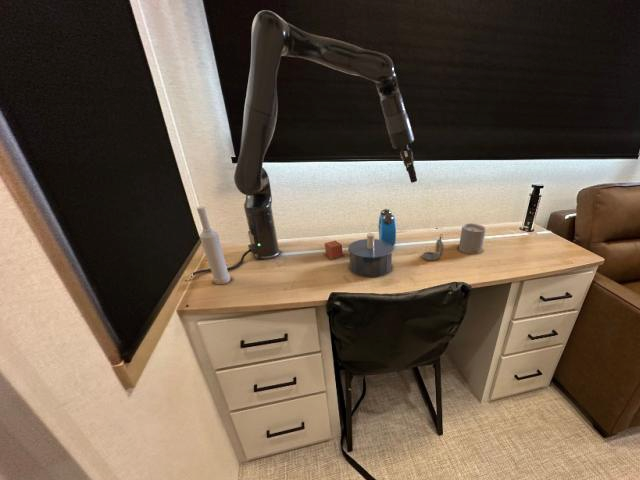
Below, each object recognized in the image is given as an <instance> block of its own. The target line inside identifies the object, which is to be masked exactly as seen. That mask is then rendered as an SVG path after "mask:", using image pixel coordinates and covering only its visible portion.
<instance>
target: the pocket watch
mask: <svg viewBox="0 0 640 480" xmlns="http://www.w3.org/2000/svg"><path fill="white" fill-rule="evenodd" d="M443 236H444V235H443V234H442V233H439V239H437V240H436V242H435V252H432V251H426V252H423V253H422V258H423V259H425V260H426V261H436V260H438V259H439V257H441V256H443V253H444V243H443V240H442V238H443Z"/></svg>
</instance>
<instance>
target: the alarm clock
mask: <svg viewBox="0 0 640 480" xmlns="http://www.w3.org/2000/svg"><path fill="white" fill-rule="evenodd" d="M378 217H379V218H378V240H382V241H386V242H388V243H390V244H391V245H392V246H393V247H394V246H395V245H396V239H397V225H396V224H397V223H396V218H395V215H394V214H393V213H392V210H390V209H387V208H385V209H382V210H381V211H380V215H379V216H378Z"/></svg>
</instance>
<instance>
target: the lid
mask: <svg viewBox="0 0 640 480" xmlns="http://www.w3.org/2000/svg"><path fill="white" fill-rule="evenodd" d="M347 250H348V253H349V252H350V253H351V254H352V255H354V256H356V257H360V258H365V259H377V258H383V257H386V256H388V255H390V254H391V253H392V254H393V252H394V246H392V245H391V244H390V243H388V242H386V241H382V240H379V239H377V238H376V239H375V233H372V232H371V233H367V234H366V238H364V239H358V240H355V241H353V242H351V243H350V244H348V247H347Z"/></svg>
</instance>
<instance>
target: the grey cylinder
mask: <svg viewBox="0 0 640 480" xmlns="http://www.w3.org/2000/svg"><path fill="white" fill-rule="evenodd" d="M486 230H487V228H486V227H485V226H484V225H482V224H478V223H464V224H462V227H461V232H460V239H459V244H458V249H459V251H461V252H462V253H465V254H469V255H477V254H480V253H481V252H482V250H483V245H484V240H485V236H486Z"/></svg>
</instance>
